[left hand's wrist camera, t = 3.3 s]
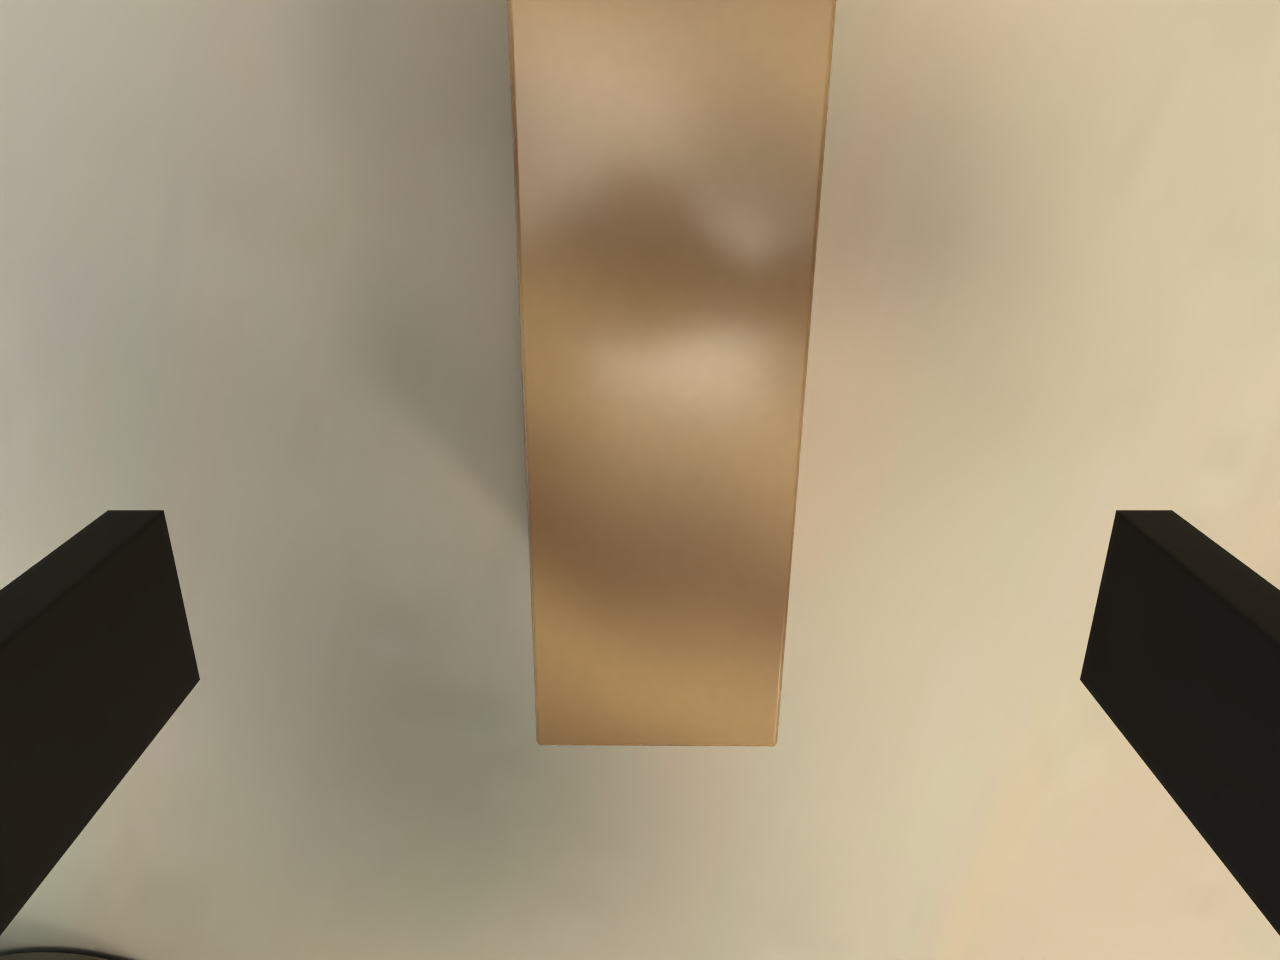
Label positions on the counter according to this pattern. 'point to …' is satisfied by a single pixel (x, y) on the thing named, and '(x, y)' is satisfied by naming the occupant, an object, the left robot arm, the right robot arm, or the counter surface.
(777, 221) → the post
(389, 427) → the counter surface
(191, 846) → the counter surface
